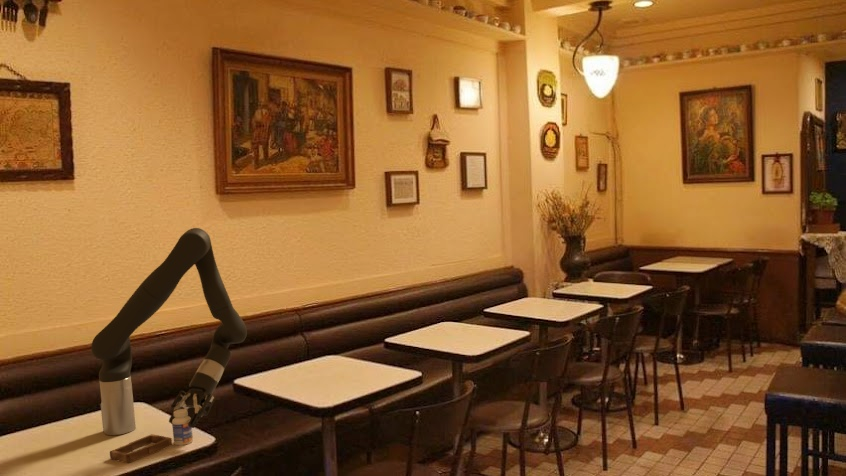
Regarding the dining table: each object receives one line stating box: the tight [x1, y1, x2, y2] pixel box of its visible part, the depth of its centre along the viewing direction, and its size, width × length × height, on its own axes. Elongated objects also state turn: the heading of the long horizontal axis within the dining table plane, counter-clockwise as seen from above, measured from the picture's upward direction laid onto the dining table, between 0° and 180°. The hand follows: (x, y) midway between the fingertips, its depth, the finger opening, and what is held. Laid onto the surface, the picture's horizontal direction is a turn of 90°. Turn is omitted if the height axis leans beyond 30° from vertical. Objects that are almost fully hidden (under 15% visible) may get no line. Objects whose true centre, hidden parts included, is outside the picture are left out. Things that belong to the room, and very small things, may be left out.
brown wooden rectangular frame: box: [109, 433, 173, 464], centre depth 205 cm, size 9×15×2 cm, turn 149°
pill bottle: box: [171, 408, 194, 446], centre depth 210 cm, size 5×5×10 cm
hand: (181, 425), depth 210 cm, fingers open, 8 cm apart
